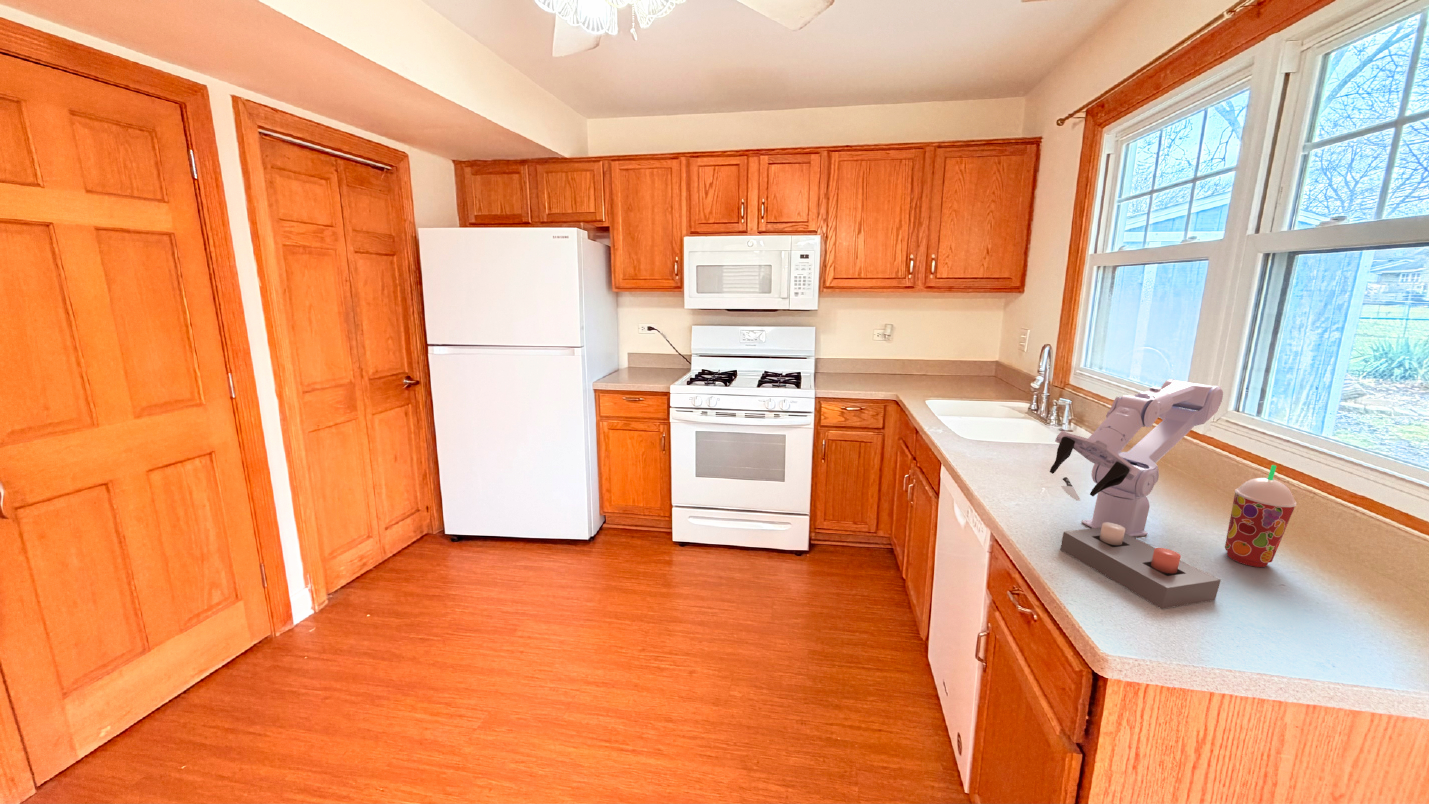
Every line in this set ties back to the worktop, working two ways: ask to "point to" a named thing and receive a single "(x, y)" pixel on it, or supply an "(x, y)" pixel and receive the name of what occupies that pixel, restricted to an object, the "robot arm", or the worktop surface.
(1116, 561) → the block
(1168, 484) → the worktop surface
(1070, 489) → the chef's knife
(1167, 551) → the red button
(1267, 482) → the smoothie
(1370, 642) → the worktop surface
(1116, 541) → the beige button
